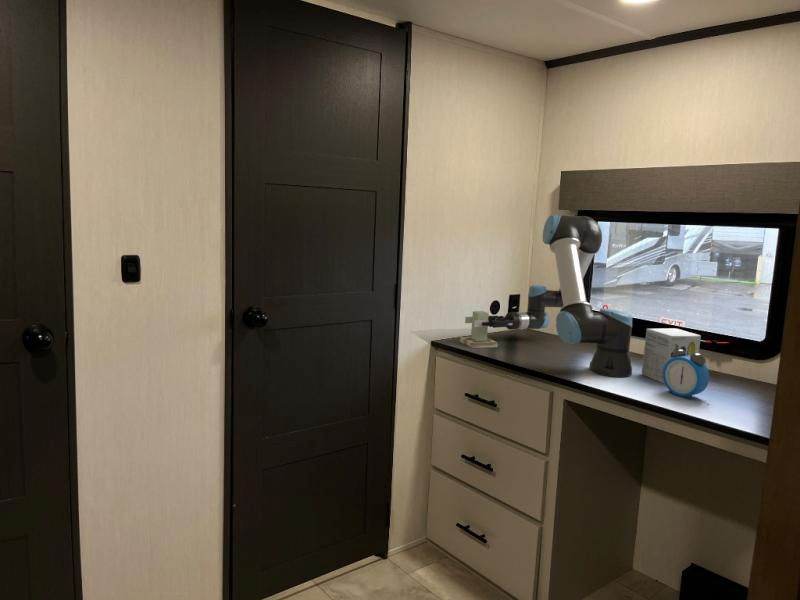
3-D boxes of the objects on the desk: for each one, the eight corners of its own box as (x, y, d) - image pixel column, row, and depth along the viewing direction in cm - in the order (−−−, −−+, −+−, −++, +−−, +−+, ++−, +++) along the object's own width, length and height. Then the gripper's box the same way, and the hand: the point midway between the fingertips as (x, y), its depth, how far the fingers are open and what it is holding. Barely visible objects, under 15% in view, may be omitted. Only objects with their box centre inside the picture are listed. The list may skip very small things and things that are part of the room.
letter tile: (497, 347, 259) (497, 342, 259) (472, 347, 255) (472, 343, 255) (484, 340, 270) (484, 336, 270) (459, 341, 266) (460, 337, 266)
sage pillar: (486, 340, 261) (488, 313, 259) (476, 341, 259) (478, 313, 257) (481, 338, 265) (483, 311, 264) (470, 338, 264) (472, 311, 262)
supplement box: (664, 384, 213) (670, 335, 211) (640, 374, 226) (645, 328, 223) (696, 383, 217) (702, 335, 214) (670, 373, 229) (676, 327, 227)
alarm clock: (659, 391, 204) (664, 347, 202) (670, 388, 208) (675, 346, 206) (697, 402, 194) (703, 356, 191) (707, 399, 197) (713, 354, 195)
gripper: (528, 334, 258) (480, 335, 250) (503, 324, 277) (458, 325, 269) (529, 316, 257) (481, 317, 249) (504, 308, 276) (459, 309, 268)
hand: (469, 321), depth 259 cm, fingers open, 8 cm apart
